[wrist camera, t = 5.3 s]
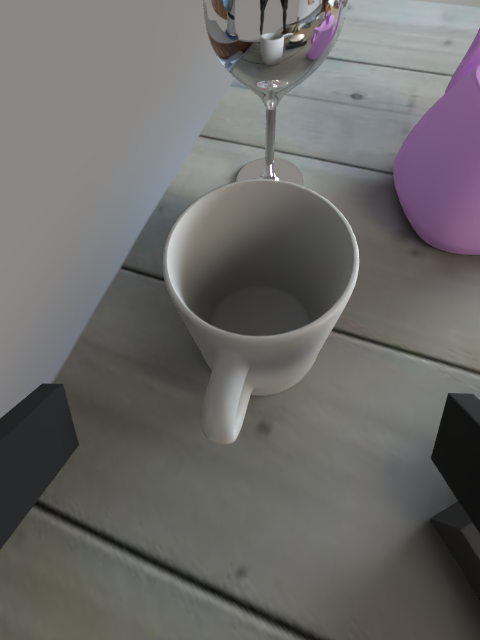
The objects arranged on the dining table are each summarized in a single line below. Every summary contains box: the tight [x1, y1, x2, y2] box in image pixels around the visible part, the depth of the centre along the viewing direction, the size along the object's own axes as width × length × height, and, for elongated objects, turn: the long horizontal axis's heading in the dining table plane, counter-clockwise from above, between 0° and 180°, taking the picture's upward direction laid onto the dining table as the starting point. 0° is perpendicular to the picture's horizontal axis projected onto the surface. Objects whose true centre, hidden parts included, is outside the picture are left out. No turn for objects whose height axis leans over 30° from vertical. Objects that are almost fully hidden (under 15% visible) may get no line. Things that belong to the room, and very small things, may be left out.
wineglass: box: [203, 0, 348, 186], centre depth 21 cm, size 8×8×18 cm
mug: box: [162, 179, 359, 444], centre depth 17 cm, size 12×8×11 cm
